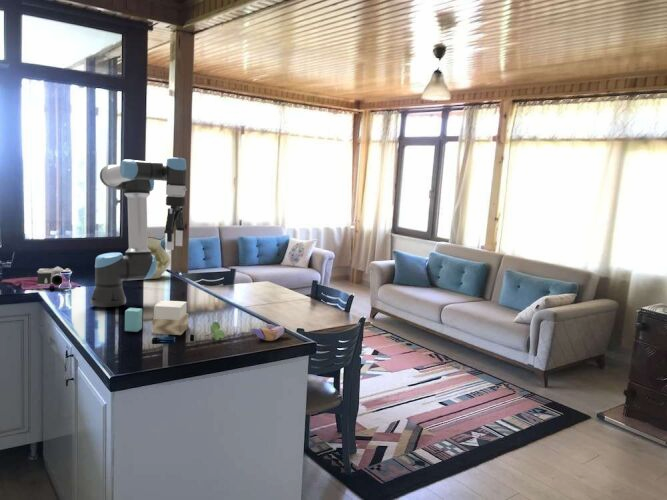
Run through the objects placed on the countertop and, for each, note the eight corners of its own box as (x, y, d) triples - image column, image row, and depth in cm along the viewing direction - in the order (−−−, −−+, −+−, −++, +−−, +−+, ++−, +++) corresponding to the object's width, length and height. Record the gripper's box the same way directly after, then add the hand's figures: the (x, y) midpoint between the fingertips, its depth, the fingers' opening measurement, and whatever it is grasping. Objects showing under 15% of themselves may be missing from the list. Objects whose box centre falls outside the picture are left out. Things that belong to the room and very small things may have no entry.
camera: (36, 287, 274) (36, 267, 273) (37, 283, 282) (37, 265, 281) (71, 286, 281) (71, 267, 280) (70, 283, 289) (71, 264, 288)
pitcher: (162, 281, 307) (163, 238, 304) (121, 279, 307) (121, 235, 304) (174, 275, 330) (175, 234, 326) (135, 272, 330) (136, 231, 327)
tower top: (153, 318, 208) (154, 305, 207) (161, 312, 218) (161, 300, 217) (179, 320, 208) (180, 307, 208) (186, 313, 218) (186, 301, 218)
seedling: (212, 348, 209) (225, 342, 206) (197, 341, 203) (209, 334, 201) (213, 333, 213) (225, 326, 211) (198, 324, 208) (211, 318, 206)
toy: (247, 323, 209) (279, 321, 219) (246, 339, 209) (279, 336, 219) (258, 327, 202) (292, 324, 211) (258, 343, 202) (292, 340, 211)
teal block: (124, 330, 209) (125, 310, 208) (129, 327, 214) (129, 307, 213) (137, 331, 209) (138, 311, 208) (142, 328, 214) (142, 308, 213)
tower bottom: (152, 333, 208) (152, 318, 208) (161, 326, 219) (161, 311, 219) (180, 335, 209) (181, 320, 208) (188, 327, 219) (188, 313, 219)
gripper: (176, 197, 207) (175, 252, 209) (192, 196, 232) (190, 244, 234) (157, 196, 207) (156, 250, 209) (174, 194, 231) (173, 243, 234)
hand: (174, 247), depth 222 cm, fingers open, 13 cm apart
